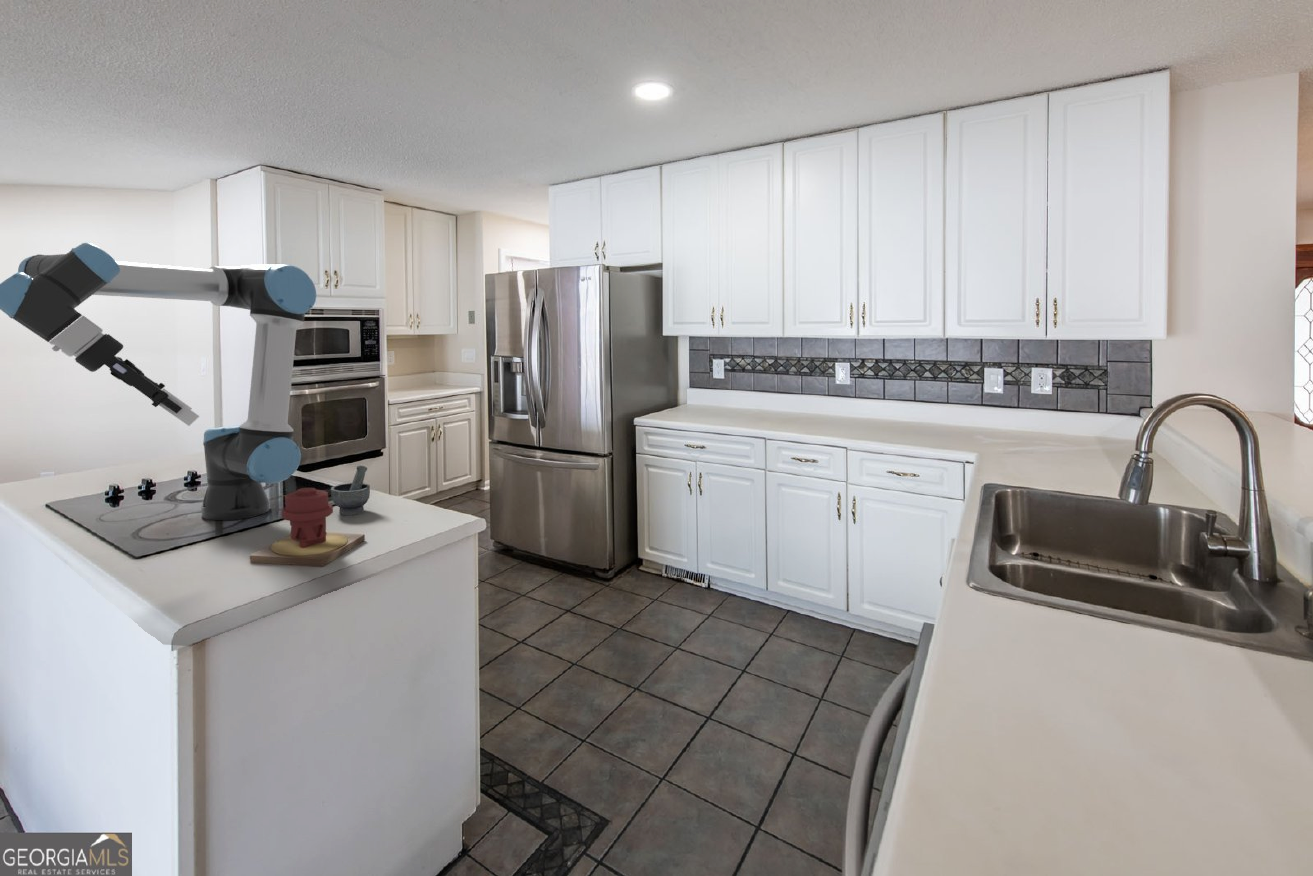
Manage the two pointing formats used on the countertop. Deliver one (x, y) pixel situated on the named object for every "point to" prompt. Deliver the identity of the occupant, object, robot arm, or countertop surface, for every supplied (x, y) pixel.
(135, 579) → the countertop surface
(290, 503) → the mechanical component
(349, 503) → the mortar and pestle
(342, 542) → the marked board
